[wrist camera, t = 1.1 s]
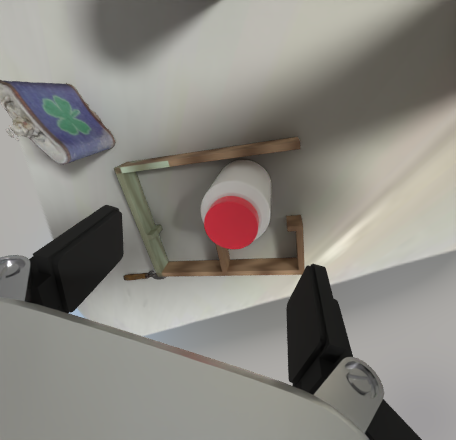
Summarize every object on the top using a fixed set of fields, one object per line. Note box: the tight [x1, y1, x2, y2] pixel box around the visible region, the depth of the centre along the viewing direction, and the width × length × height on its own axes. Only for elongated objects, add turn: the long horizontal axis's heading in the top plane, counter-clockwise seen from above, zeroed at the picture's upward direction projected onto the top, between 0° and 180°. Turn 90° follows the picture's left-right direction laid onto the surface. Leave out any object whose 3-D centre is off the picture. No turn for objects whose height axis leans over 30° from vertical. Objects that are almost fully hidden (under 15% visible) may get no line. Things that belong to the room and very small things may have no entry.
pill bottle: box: [201, 160, 272, 249], centre depth 28 cm, size 8×8×11 cm
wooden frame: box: [114, 137, 304, 277], centre depth 34 cm, size 24×19×3 cm
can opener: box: [124, 271, 167, 280], centre depth 45 cm, size 9×2×1 cm, turn 98°
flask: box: [0, 80, 116, 164], centre depth 27 cm, size 9×3×11 cm, turn 34°
